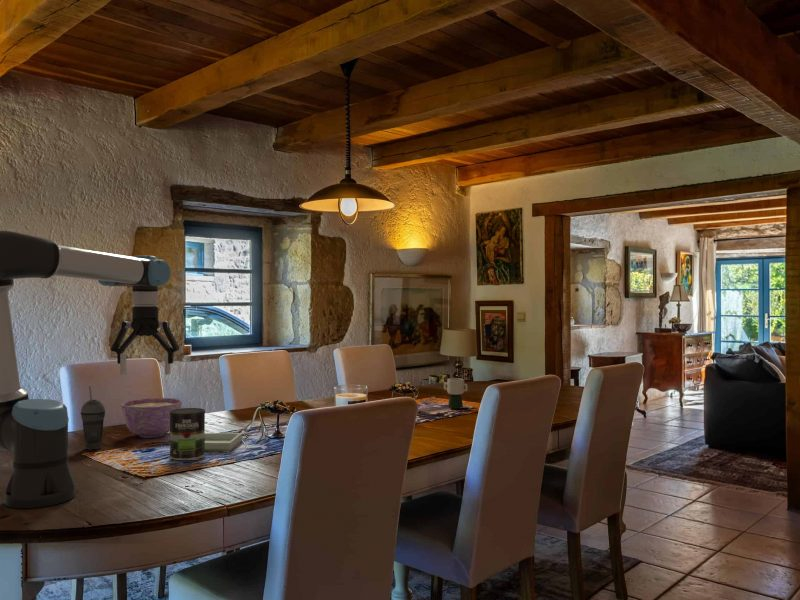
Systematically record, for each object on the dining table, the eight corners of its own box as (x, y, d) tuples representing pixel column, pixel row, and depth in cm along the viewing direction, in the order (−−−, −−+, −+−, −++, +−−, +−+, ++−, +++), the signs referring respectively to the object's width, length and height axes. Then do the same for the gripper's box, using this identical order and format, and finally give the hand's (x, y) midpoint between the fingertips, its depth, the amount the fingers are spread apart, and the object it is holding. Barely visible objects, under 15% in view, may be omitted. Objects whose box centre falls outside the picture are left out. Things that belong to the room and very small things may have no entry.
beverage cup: (95, 451, 206) (95, 388, 206) (75, 450, 207) (75, 387, 207) (110, 446, 213) (110, 384, 213) (90, 445, 214) (90, 384, 214)
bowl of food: (108, 439, 222) (108, 405, 222) (144, 428, 242) (144, 397, 242) (160, 443, 218) (160, 408, 218) (193, 431, 237) (193, 399, 237)
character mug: (470, 408, 284) (470, 378, 284) (464, 411, 278) (464, 380, 278) (446, 406, 289) (446, 377, 289) (440, 409, 283) (440, 379, 283)
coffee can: (204, 459, 196) (204, 412, 196) (168, 462, 193) (168, 414, 193) (205, 451, 206) (205, 407, 206) (170, 453, 203) (170, 408, 203)
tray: (230, 451, 205) (230, 443, 205) (184, 451, 206) (184, 442, 206) (242, 441, 220) (242, 433, 220) (199, 441, 220) (199, 433, 220)
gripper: (189, 305, 206) (189, 372, 207) (109, 305, 206) (109, 373, 206) (182, 305, 199) (182, 375, 199) (99, 305, 198) (99, 375, 198)
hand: (145, 374), depth 203 cm, fingers open, 13 cm apart
